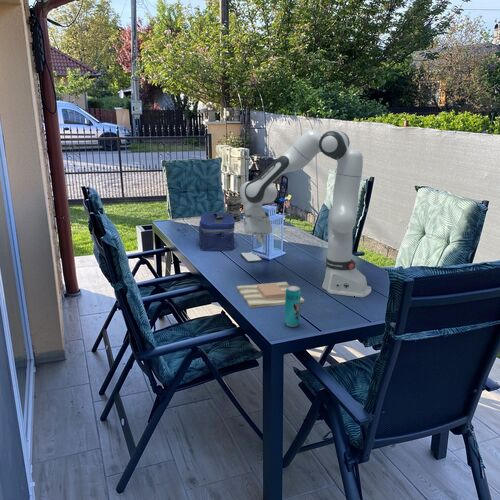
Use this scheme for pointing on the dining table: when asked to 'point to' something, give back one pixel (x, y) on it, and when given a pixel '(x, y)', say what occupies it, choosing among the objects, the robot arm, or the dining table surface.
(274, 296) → the tile
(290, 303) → the beverage can
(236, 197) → the apothecary jar
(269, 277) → the dining table surface
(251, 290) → the board
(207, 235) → the lunch bag
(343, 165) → the robot arm
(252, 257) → the phone case
